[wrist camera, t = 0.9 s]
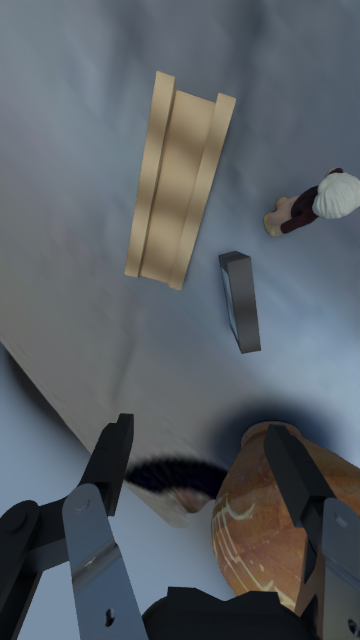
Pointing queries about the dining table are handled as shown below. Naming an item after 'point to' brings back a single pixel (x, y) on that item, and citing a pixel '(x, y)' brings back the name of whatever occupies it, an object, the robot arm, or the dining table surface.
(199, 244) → the dining table surface
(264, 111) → the dining table surface
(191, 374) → the dining table surface
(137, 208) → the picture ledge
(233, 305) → the dark grey block
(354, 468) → the jug
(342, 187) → the grandmother figurine
